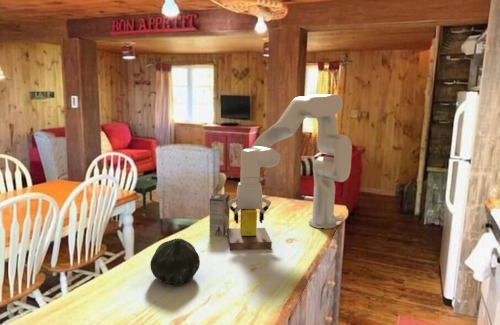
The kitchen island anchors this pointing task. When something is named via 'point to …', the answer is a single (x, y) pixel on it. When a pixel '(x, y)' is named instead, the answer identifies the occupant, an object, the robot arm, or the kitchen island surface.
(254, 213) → the supplement box
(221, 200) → the coffee box
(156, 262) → the squash
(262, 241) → the base
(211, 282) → the kitchen island surface
